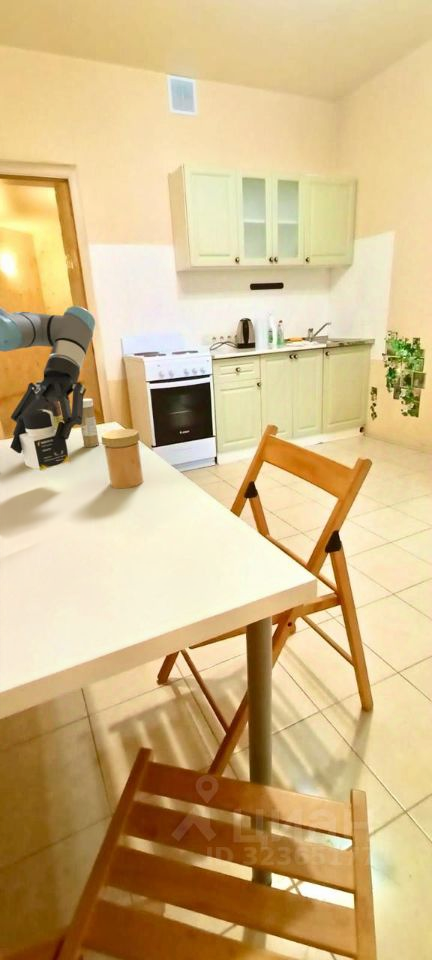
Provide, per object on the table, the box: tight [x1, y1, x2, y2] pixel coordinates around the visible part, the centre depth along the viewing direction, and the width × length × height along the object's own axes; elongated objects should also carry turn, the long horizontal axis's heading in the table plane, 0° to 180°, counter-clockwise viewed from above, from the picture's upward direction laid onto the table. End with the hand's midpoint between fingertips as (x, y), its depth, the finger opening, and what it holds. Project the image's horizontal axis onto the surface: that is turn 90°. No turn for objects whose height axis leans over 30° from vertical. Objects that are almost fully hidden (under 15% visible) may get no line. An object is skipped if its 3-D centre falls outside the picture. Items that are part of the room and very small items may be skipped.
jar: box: [104, 441, 144, 489], centre depth 98 cm, size 7×7×10 cm
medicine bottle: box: [19, 410, 70, 472], centre depth 98 cm, size 7×7×12 cm
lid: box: [101, 428, 140, 447], centre depth 96 cm, size 8×8×2 cm
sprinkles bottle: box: [80, 398, 100, 448], centre depth 129 cm, size 5×5×14 cm
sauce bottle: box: [35, 379, 64, 430], centre depth 124 cm, size 7×6×20 cm
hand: (35, 450), depth 96 cm, fingers closed on medicine bottle, 9 cm apart
